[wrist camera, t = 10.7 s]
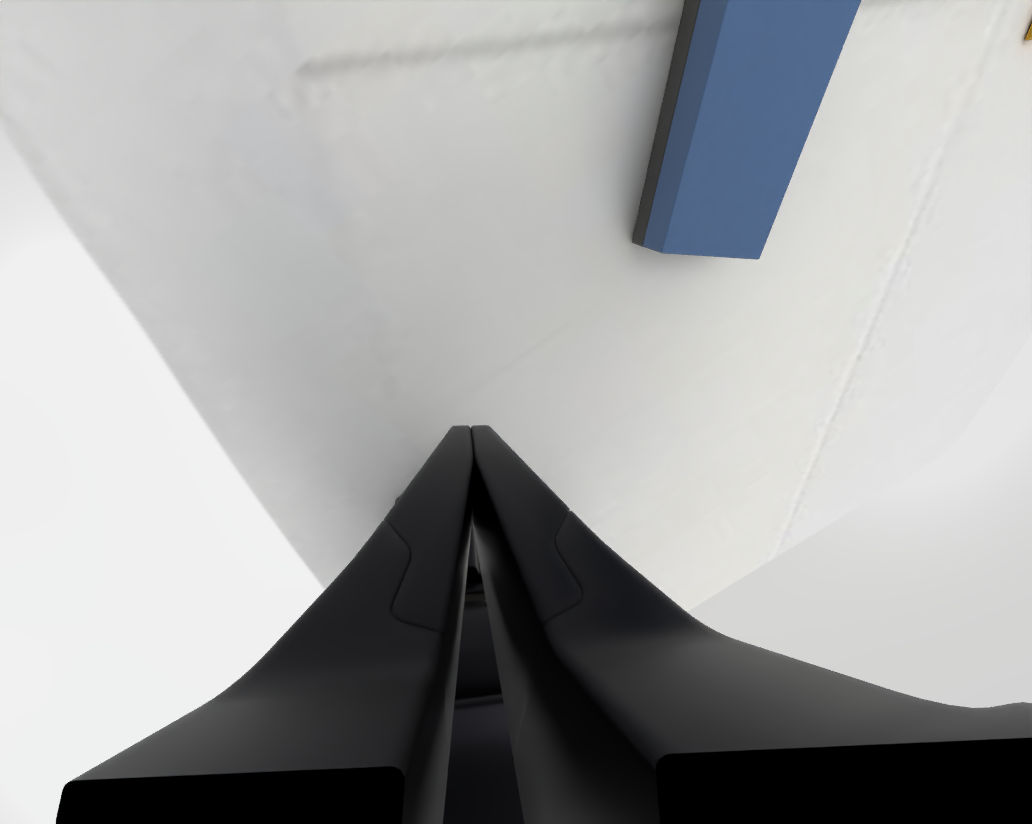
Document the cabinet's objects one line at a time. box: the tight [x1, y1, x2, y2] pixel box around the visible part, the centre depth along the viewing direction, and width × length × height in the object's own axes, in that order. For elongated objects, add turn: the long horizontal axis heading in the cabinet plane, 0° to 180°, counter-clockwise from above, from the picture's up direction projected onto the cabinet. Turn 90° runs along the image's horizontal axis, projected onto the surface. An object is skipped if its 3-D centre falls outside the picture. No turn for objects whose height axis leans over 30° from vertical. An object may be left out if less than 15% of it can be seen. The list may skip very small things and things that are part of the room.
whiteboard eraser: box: [632, 0, 861, 259], centre depth 14 cm, size 10×4×3 cm, turn 176°
